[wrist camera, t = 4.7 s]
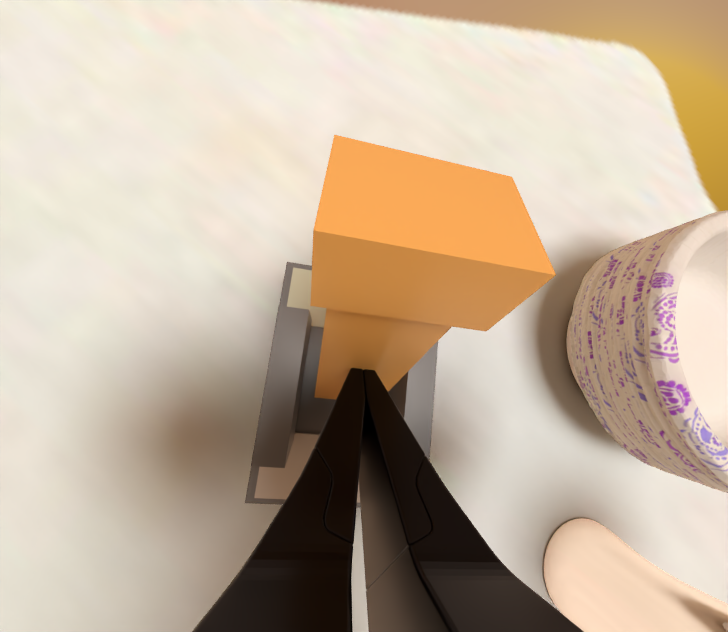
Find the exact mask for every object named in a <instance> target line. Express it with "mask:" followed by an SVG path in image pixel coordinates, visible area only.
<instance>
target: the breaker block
mask: <svg viewBox="0 0 728 632" xmlns="http://www.w3.org/2000/svg"><path fill="white" fill-rule="evenodd" d="M311 280H312V266H309V265H303V264H296V263H290V262H287V265H286V271H285V276H284V282H283V288H282V294H281V299H280V305H279V308H278V314H277V320H276V325H275V331H274V337H273V343H272V348H271V354H270V360H269V365H268V371H267V377H266V383H265V388H264V394H263V400H262V406H261V411H260V417H259V423H258V428H257V434H256V440H255V446H254V451H253V457H252V463H251V471H250V477H249V483H248V489H247V494H246V500H245V503H259V504H284V502H285V500H286V499H287V497H288V495H289V494H290V492H291V490H292V489H293V487H294V485H295V484H296V482H297V480H298V478H299V477H300V475H301V473H302V471H303V469H304V467H305V465H306V463H307V461H308V459H309V457H310V454H311V452H312V450H313V449H314V446H315V444H316V442H317V440H318V438H319V435H320V433H321V431H322V429H323V427H324V425H325V422H326V420H327V418H328V416H329V414H330V412H331V410H332V407H333V405H334V403H335V401H336V400H335V399H325V398H314V396H315V389H316V381H317V374H318V367H319V360H320V352H321V345H322V338H323V331H324V323H325V316H326V309H327V308H322V307H315V306H310V304H311ZM437 347H438V341H437V342H436V343H435V344H434V345H433V346H432V347H431V348H430V349H429V350H428V351H427V352H426V353H425V355H424V356H423V357H422V358H421V359H420V360H419V361H418V362H417V363H416V364H415V365H414V366H413V367H412V368H411V369H410V370H409V371H408V372H407V373H406V374H405V375H404V376H403V377H402V378H401V379H400V380H399V381H398V382H397V383H396V384H395V385H394V386H393V387H392V388H391V389H390V390H389V391H388V393H389V395H390V396H391V398H392V400H393V401H394V403H395V405H396V406H397V408H398V410H399V411H400V413H401V415H402V416H403V418H404V420H405V421H406V423H407V425H408V426H409V428H410V430H411V431H412V433H413V435H414V436H415V438H416V440H417V441H418V443H419V445H420V446H421V448H422V449H423V451H424V453H425V456H427V458H428V459H429V457H430V443H431V429H432V416H433V402H434V388H435V374H436V360H437ZM356 507H358V508H361V505H360V490H359V483H358V494H357V506H356Z"/></svg>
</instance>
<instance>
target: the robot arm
mask: <svg viewBox="0 0 728 632" xmlns="http://www.w3.org/2000/svg"><path fill="white" fill-rule="evenodd" d="M358 483H359V490H360V505H361V520H362V535H363V550H364V565H365V580H366V589H367V591H366V597H367V612H368V627H369V632H584V631H583V630H581V629H580V628H579V627H578V626H576V625H575V624H574V623H573V622H571V621H570V620H569V619H568V618H566V617H565V616H564V615H563V614H562V613H560V612H559V611H558V610H557V609H555V608H554V607H553V606H552V605H550V604H549V603H548V602H547V601H545V600H544V599H543V598H542V597H540V596H539V595H538V594H537V593H536V592H534V591H533V590H532V589H531V588H529V587H528V586H527V585H526V584H524V583H523V582H522V581H521V580H519V579H518V578H517V577H516V576H515V575H514V574H513V573H512V572H511V571H510V570H509V569H508V568H507V567H506V566H505V565H504V564H503V563H502V562H501V561H500V560H499V559H498V557H497V556H496V555H495V554H494V552H493V551H492V550H491V549H490V547H489V546H488V545H487V543H486V542H485V540H484V539H483V538H482V536H481V535H480V534H479V532H478V531H477V529H476V528H475V527H474V525H473V524H472V523H471V521H470V520H469V519H468V517H467V516H466V514H465V513H464V512H463V510H462V509H461V508H460V506H459V505H458V503H457V502H456V501H455V499H454V498H453V496H452V495H451V494H450V492H449V491H448V489H447V488H446V486H445V485H444V483H443V482H442V480H441V479H440V477H439V476H438V474H437V472H436V471H435V469H434V468H433V466H432V464H431V463H430V461H429V459H428V458H427V456H425V453H424V451H423V449H422V448H421V446H420V445H419V443H418V441H417V440H416V438H415V436H414V435H413V433H412V431H411V430H410V428H409V426H408V425H407V423H406V421H405V420H404V418H403V416H402V415H401V413H400V411H399V410H398V408H397V406H396V405H395V403H394V401H393V400H392V398H391V396H390V395H389V393H388V391H387V390H386V388H385V386H384V385H383V383H382V381H381V380H380V378H379V376H378V375H377V373H376V371H375V370H368V369H364V370H363V369H359V368H351V369H350V371H349V373H348V375H347V377H346V379H345V382H344V384H343V386H342V388H341V390H340V392H339V394H338V397H337V399H336V401H335V403H334V405H333V407H332V410H331V412H330V414H329V416H328V418H327V420H326V422H325V425H324V427H323V429H322V431H321V433H320V435H319V438H318V440H317V442H316V444H315V446H314V449H313V450H312V452H311V454H310V457H309V459H308V461H307V463H306V465H305V467H304V469H303V471H302V473H301V475H300V477H299V478H298V480H297V482H296V484H295V485H294V487H293V489H292V490H291V492H290V494H289V495H288V497H287V499H286V500H285V502H284V504H283V505H282V507H281V508H280V510H279V512H278V513H277V515H276V516H275V518H274V520H273V521H272V523H271V524H270V526H269V528H268V529H267V531H266V532H265V534H264V536H263V537H262V539H261V540H260V542H259V544H258V545H257V547H256V548H255V550H254V551H253V553H252V554H251V556H250V557H249V559H248V560H247V562H246V563H245V565H244V566H243V567H242V569H241V570H240V572H239V573H238V574H237V576H236V577H235V578H234V580H233V581H232V582H231V584H230V585H229V586H228V587H227V589H226V590H225V591H224V592H223V594H222V595H221V596H220V597H219V599H218V600H217V601H216V602H215V604H214V605H213V606H212V607H211V609H210V610H209V611H208V612H207V614H206V615H205V616H204V617H203V619H202V620H201V621H200V623H199V624H198V625H197V626H196V628H195V629H194V630H193V631H192V632H352V592H351V572H352V553H353V541H354V530H355V518H356V506H357V494H358Z"/></svg>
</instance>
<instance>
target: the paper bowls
mask: <svg viewBox="0 0 728 632" xmlns="http://www.w3.org/2000/svg"><path fill="white" fill-rule="evenodd" d="M567 354H568V360H569V364H570V367H571V370H572V373H573V375H574V377H575V379H576V381H577V383H578V385H579V387H580V388H581V390H582V391H583V393H584V396H585V398H586V400H587V401H588V402H589V407H590V408H591V409H593V410H594V414H595V416H596V417H597V418H598V420H599V421H600V423H601V424H602V426H603V427H604V428H605V430H606V432H607V433H609V434H610V435H611V437H612V438H613V439H614V440H615V441H617V442H618V444H619V445H620V446H621V447H622V448H624V449H625V450H626V451H627V452H628V453H629V454H631V455H632V456H634V457H636V458H637V459H639V460H640V461H643V462H644V463H647V464H648V465H650V466H653V467H656V468H658V469H660V470H663V471H665V472H668V473H671V474H674V475H677V476H680V477H683V478H686V479H689V480H691V481H695V482H698V483H701V484H703V485H706V486H708V487H711V488H714V489H718V490H720V491H723V492H727V493H728V211H721V212H715V213H712V214H709V215H707V216H704V217H702V218H698V219H696V220H693V221H690V222H687V223H684V224H682V225H680V226H677V227H674V228H671V229H668V230H665V231H662V232H660V233H657V234H655V235H652V236H649V237H646V238H644V239H641V240H638V241H634V242H632V243H630V244H628V245H625V246H622V247H620V248H618V249H615V250H613V251H611V252H610V253H608V254H607V255H605V256H603V257H601V258H600V259H598V260H597V261H596V262H595V264H594V265H593V266H592V267H591V268H590V270H589V271H588V272H587V273H586V274H585V276H584V278H583V281H582V283H581V286H580V288H579V291H578V293H577V295H576V298H575V301H574V305H573V312H572V315H571V318H570V321H569V325H568V330H567Z"/></svg>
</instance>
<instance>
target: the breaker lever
mask: <svg viewBox="0 0 728 632" xmlns="http://www.w3.org/2000/svg"><path fill="white" fill-rule="evenodd" d="M554 276H556V274H555V272H554V269H553V267H552V265H551V263H550V261H549V258H548V256H547V254H546V252H545V249H544V247H543V245H542V243H541V240H540V238H539V236H538V234H537V232H536V229H535V227H534V225H533V223H532V220H531V218H530V216H529V214H528V212H527V209H526V207H525V205H524V203H523V200H522V198H521V196H520V194H519V192H518V189H517V187H516V185H515V183H514V180H513V178H512V177H510V176H506V175H502V174H497V173H493V172H489V171H485V170H480V169H476V168H472V167H468V166H464V165H459V164H455V163H451V162H447V161H443V160H438V159H434V158H430V157H426V156H422V155H417V154H413V153H409V152H405V151H401V150H396V149H392V148H388V147H384V146H379V145H375V144H371V143H367V142H363V141H358V140H354V139H350V138H346V137H342V136H337V135H334V140H333V144H332V149H331V153H330V158H329V162H328V167H327V171H326V176H325V181H324V185H323V190H322V194H321V199H320V203H319V208H318V212H317V217H316V222H315V226H314V233H313V256H312V280H311V304H310V306H315V307H322V308H327V309H326V316H325V323H324V331H323V338H322V345H321V352H320V360H319V367H318V374H317V381H316V389H315V396H314V398H325V399H335V400H336V399H337V397H338V394H339V392H340V390H341V388H342V386H343V384H344V382H345V379H346V377H347V375H348V373H349V371H350V369H351V368H359V369H363V370H364V369H368V370H375V371H376V373H377V375H378V376H379V378H380V380H381V381H382V383H383V385H384V386H385V388H386V390H387V391H389V390H390V389H391V388H392V387H393V386H394V385H395V384H396V383H397V382H398V381H399V380H400V379H401V378H402V377H403V376H404V375H405V374H406V373H407V372H408V371H409V370H410V369H411V368H412V367H413V366H414V365H415V364H416V363H417V362H418V361H419V360H420V359H421V358H422V357H423V356H424V355H425V353H426V352H427V351H428V350H429V349H430V348H431V347H432V346H433V345H434V344H435V343H436V342H437V341H438V340H439V339H440V338H441V337H442V336H443V335H444V334H445V333H446V332H447V331H448V330H449V329H450V328H451V327H452V326H453V327H460V328H467V329H473V330H480V331H487V330H489V329H490V328H491V327H492V326H493V325H495V324H496V323H497V322H498V321H500V320H501V319H502V318H503V317H505V316H506V315H507V314H508V313H510V312H511V311H512V310H513V309H515V308H516V307H517V306H518V305H520V304H521V303H522V302H523V301H525V300H526V299H527V298H528V297H529V296H531V295H532V294H533V293H534V292H536V291H537V290H538V289H539V288H541V287H542V286H543V285H544V284H546V283H547V282H548V281H549V280H551V279H552V278H553V277H554Z"/></svg>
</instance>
